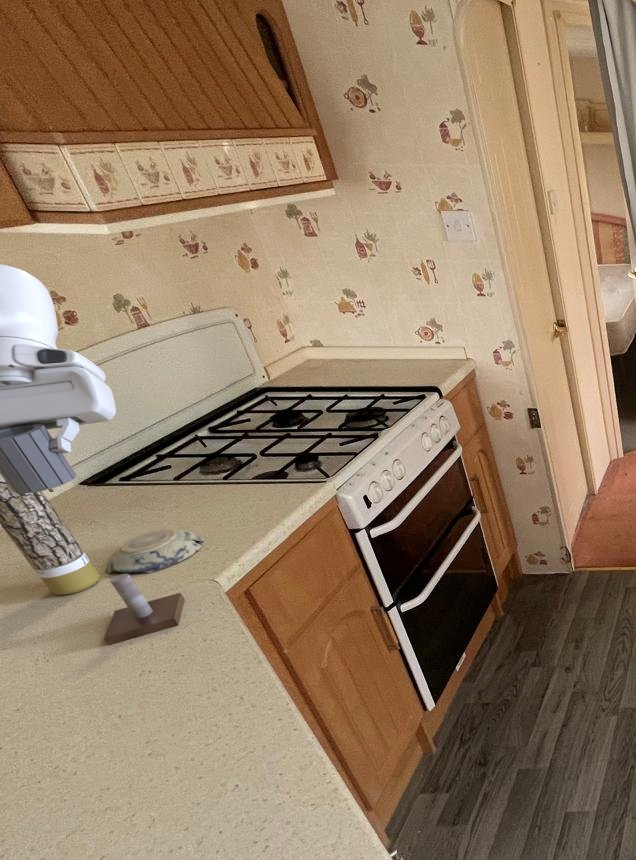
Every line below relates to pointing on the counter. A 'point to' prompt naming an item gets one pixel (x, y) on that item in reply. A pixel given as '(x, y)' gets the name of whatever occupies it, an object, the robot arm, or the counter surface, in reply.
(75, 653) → the counter surface
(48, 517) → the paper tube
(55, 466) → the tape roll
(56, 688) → the counter surface
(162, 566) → the decorative bowl
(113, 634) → the stand
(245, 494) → the counter surface
